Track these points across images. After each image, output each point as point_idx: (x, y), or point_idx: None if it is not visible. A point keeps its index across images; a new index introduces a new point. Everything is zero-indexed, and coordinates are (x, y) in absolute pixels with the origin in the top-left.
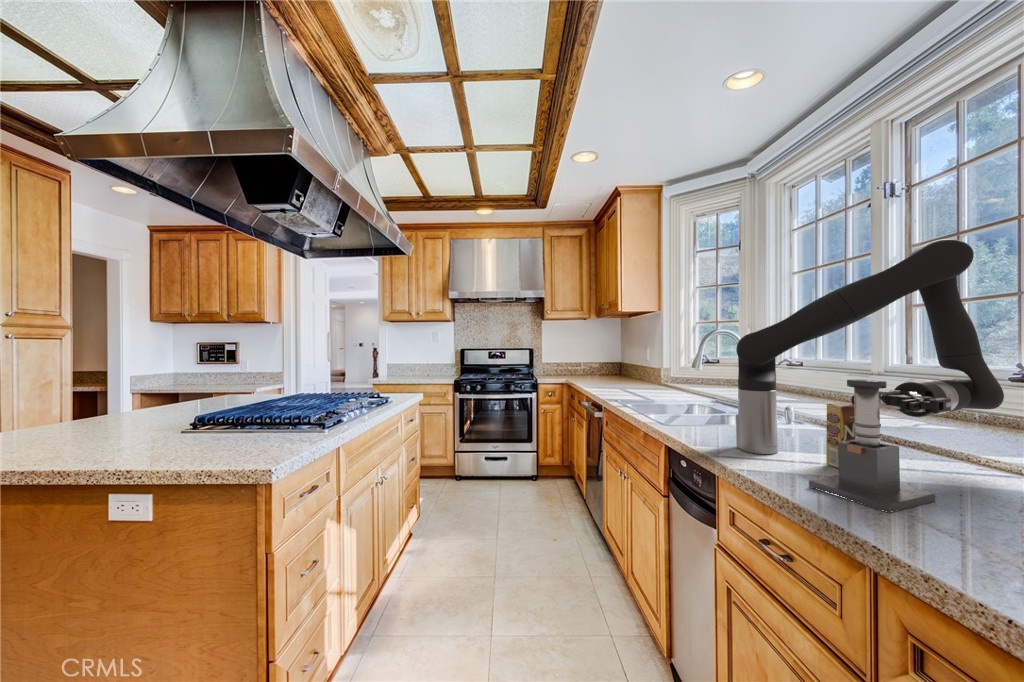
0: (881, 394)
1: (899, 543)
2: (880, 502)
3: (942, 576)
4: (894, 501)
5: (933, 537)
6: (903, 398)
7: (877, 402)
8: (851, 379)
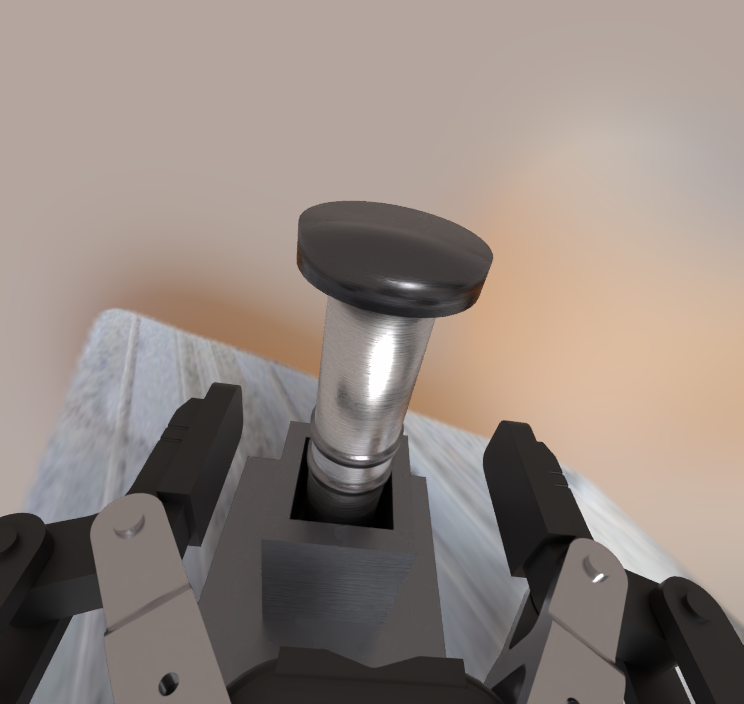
0: (527, 667)
1: (206, 367)
2: (264, 458)
3: (156, 328)
4: (245, 487)
5: (168, 417)
6: (298, 648)
7: (324, 332)
8: (491, 254)
